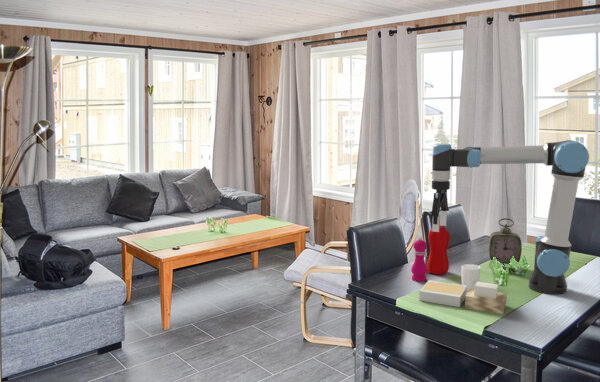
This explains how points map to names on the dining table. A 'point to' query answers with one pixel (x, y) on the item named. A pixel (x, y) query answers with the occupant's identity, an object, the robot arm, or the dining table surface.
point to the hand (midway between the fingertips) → (439, 228)
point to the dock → (443, 293)
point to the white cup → (470, 275)
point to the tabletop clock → (505, 244)
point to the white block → (486, 290)
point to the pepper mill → (419, 261)
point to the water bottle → (438, 251)
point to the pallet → (485, 302)
